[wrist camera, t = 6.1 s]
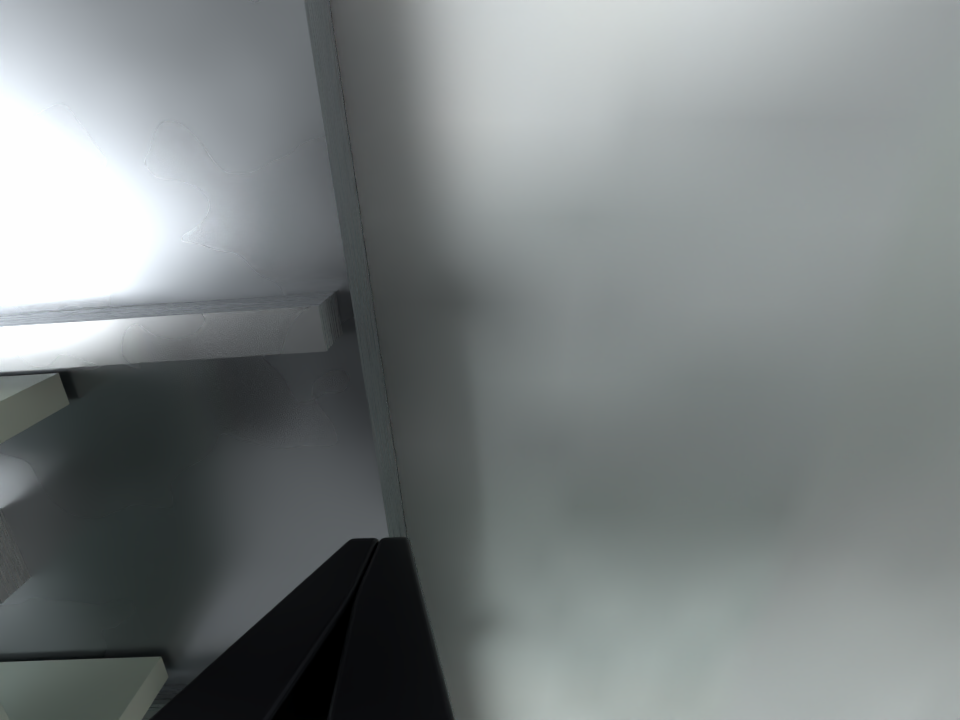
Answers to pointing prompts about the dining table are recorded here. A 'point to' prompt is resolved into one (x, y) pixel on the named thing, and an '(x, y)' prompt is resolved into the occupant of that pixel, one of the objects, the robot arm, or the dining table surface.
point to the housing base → (180, 326)
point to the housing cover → (82, 682)
